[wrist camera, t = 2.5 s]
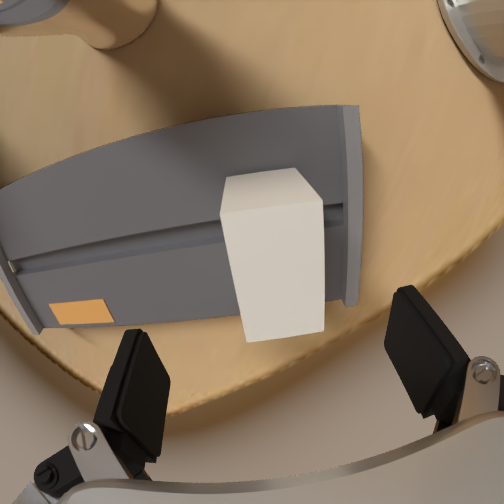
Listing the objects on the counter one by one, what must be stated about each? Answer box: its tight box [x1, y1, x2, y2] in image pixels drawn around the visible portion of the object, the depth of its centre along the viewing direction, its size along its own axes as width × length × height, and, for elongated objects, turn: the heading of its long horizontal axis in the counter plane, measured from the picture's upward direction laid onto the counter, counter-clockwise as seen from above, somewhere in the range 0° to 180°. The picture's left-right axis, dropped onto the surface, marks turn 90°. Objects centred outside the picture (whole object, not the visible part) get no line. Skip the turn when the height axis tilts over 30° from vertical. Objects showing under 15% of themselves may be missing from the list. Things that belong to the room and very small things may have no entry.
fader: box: [220, 168, 325, 343], centre depth 16 cm, size 4×7×7 cm, turn 8°
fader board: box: [0, 105, 363, 335], centre depth 19 cm, size 30×14×4 cm, turn 98°
